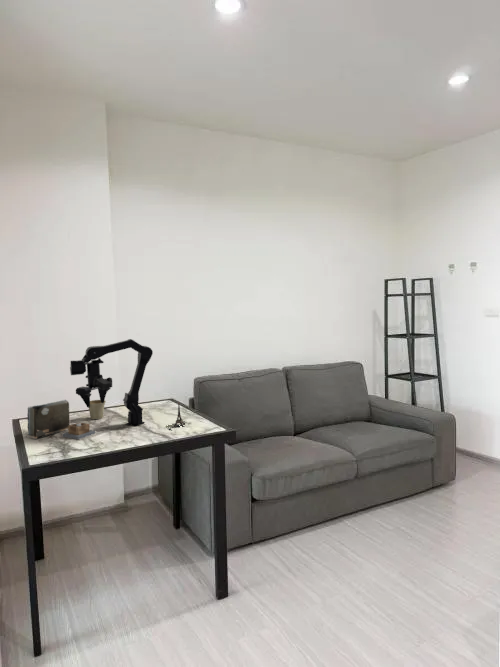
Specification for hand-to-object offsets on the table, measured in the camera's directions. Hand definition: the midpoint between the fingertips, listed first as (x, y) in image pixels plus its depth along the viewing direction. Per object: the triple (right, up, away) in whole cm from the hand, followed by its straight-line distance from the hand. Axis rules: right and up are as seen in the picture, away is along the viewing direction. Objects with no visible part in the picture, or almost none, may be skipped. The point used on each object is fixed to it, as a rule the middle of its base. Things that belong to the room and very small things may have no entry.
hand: (95, 405), depth 228 cm
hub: (-5, -12, -9) cm, 16 cm away
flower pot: (-6, -10, +21) cm, 24 cm away
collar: (-5, -11, -9) cm, 15 cm away
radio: (-20, -12, -4) cm, 24 cm away
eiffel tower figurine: (+39, -12, +6) cm, 41 cm away
